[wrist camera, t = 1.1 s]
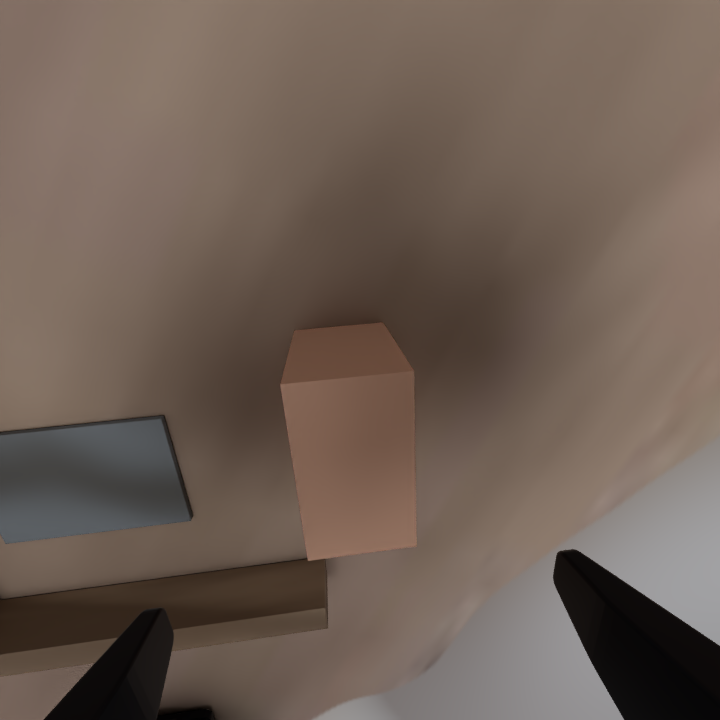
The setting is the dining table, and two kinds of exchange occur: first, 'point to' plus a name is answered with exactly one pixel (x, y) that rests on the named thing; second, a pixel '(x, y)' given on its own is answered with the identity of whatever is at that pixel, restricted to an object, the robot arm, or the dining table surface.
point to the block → (351, 439)
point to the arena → (123, 511)
